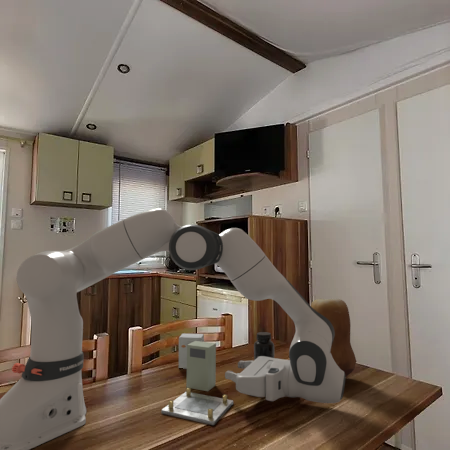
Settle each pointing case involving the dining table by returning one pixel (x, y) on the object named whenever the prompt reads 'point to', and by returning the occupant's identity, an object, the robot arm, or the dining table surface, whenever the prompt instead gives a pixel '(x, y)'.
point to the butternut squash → (338, 331)
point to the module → (201, 365)
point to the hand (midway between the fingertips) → (232, 369)
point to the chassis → (198, 407)
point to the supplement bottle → (263, 345)
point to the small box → (183, 343)
